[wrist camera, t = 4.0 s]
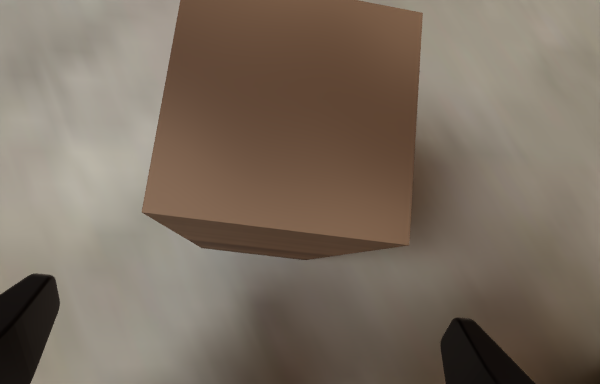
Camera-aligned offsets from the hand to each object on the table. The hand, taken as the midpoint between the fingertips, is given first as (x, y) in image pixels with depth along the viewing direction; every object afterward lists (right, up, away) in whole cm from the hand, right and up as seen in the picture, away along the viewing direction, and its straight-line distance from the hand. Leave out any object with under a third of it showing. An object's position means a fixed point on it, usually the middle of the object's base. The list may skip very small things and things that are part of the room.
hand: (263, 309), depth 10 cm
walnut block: (-1, +2, +11) cm, 12 cm away
